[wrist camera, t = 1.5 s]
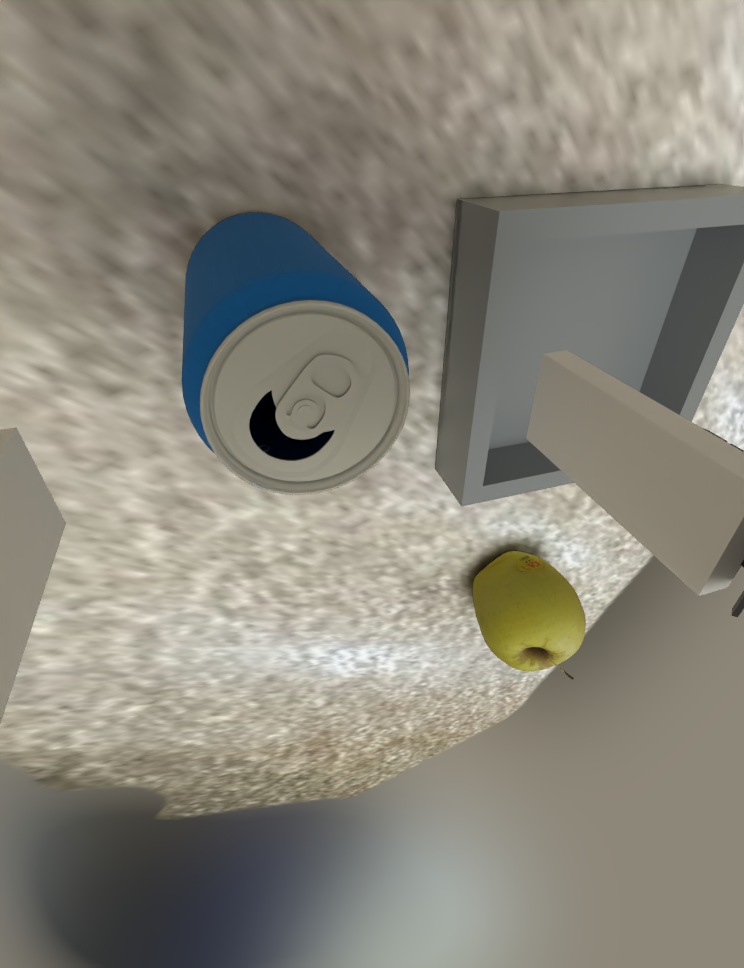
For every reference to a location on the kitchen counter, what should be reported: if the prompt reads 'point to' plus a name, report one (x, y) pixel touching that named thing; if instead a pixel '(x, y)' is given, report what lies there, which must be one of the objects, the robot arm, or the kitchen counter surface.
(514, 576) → the apple
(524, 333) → the bin
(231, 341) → the beverage can
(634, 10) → the kitchen counter surface
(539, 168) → the kitchen counter surface
